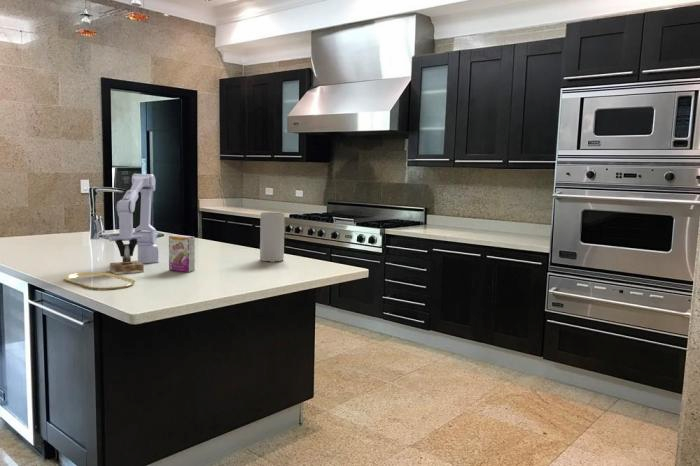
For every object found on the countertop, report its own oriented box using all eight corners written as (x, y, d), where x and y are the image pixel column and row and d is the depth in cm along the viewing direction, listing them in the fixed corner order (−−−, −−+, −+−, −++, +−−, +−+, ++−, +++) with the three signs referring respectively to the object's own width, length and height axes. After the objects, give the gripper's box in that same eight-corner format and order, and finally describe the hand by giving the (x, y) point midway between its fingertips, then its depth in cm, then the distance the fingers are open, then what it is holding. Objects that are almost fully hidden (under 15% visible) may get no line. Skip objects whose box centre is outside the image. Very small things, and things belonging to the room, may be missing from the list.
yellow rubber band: (99, 273, 245) (99, 270, 245) (144, 286, 224) (144, 282, 224) (56, 280, 230) (56, 276, 230) (100, 293, 209) (100, 289, 209)
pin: (129, 260, 252) (129, 243, 251) (131, 261, 249) (131, 244, 248) (121, 261, 250) (121, 244, 249) (123, 262, 247) (123, 244, 246)
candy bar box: (168, 270, 255) (168, 235, 253) (175, 268, 260) (174, 234, 258) (188, 272, 251) (188, 237, 249) (195, 270, 256) (195, 236, 254)
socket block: (137, 268, 258) (137, 260, 257) (143, 271, 250) (143, 264, 249) (110, 270, 251) (110, 263, 250) (115, 274, 243) (115, 266, 242)
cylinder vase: (268, 263, 282) (268, 214, 279) (255, 259, 291) (256, 212, 288) (288, 260, 290) (289, 214, 287) (275, 257, 300) (275, 212, 297)
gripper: (111, 228, 240) (112, 258, 242) (145, 226, 249) (145, 256, 250) (107, 226, 246) (108, 256, 247) (140, 225, 254) (140, 253, 256)
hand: (126, 256), depth 249 cm, fingers closed on pin, 3 cm apart
